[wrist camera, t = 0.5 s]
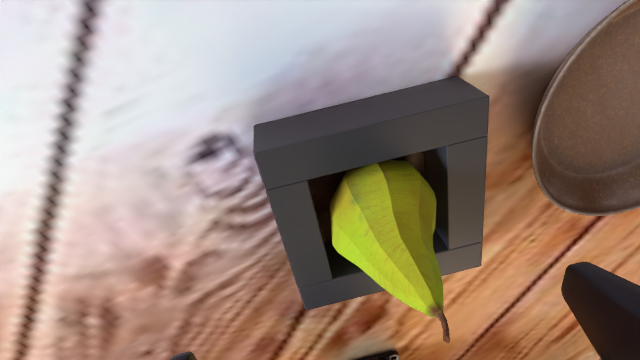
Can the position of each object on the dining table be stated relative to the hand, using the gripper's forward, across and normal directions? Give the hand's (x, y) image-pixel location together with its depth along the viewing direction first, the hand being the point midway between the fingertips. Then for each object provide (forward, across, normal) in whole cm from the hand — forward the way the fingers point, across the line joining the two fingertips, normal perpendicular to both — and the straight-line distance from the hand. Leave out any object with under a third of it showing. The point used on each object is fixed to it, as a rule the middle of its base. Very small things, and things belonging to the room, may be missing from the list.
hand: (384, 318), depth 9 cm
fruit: (+14, -3, +6) cm, 16 cm away
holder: (+14, -3, +6) cm, 16 cm away
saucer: (+14, -19, +3) cm, 24 cm away
